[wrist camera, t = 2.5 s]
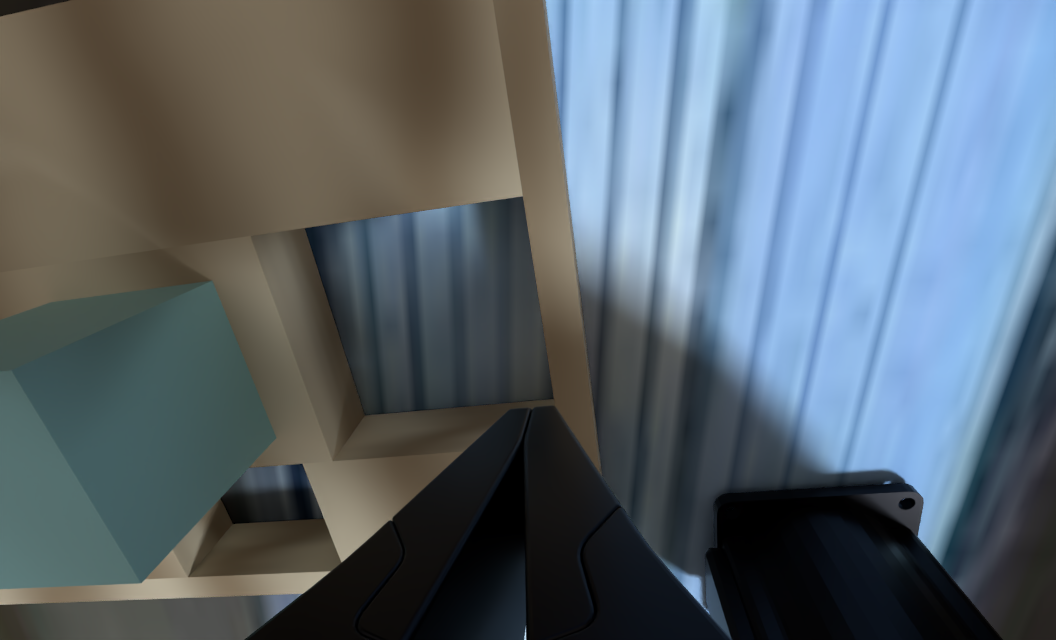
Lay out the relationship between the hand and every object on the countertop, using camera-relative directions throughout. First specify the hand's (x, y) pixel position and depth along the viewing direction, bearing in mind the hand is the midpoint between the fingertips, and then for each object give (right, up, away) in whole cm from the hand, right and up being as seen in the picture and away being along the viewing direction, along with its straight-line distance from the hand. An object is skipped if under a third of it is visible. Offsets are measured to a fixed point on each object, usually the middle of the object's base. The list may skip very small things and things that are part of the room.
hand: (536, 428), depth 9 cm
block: (-11, 0, +5) cm, 12 cm away
